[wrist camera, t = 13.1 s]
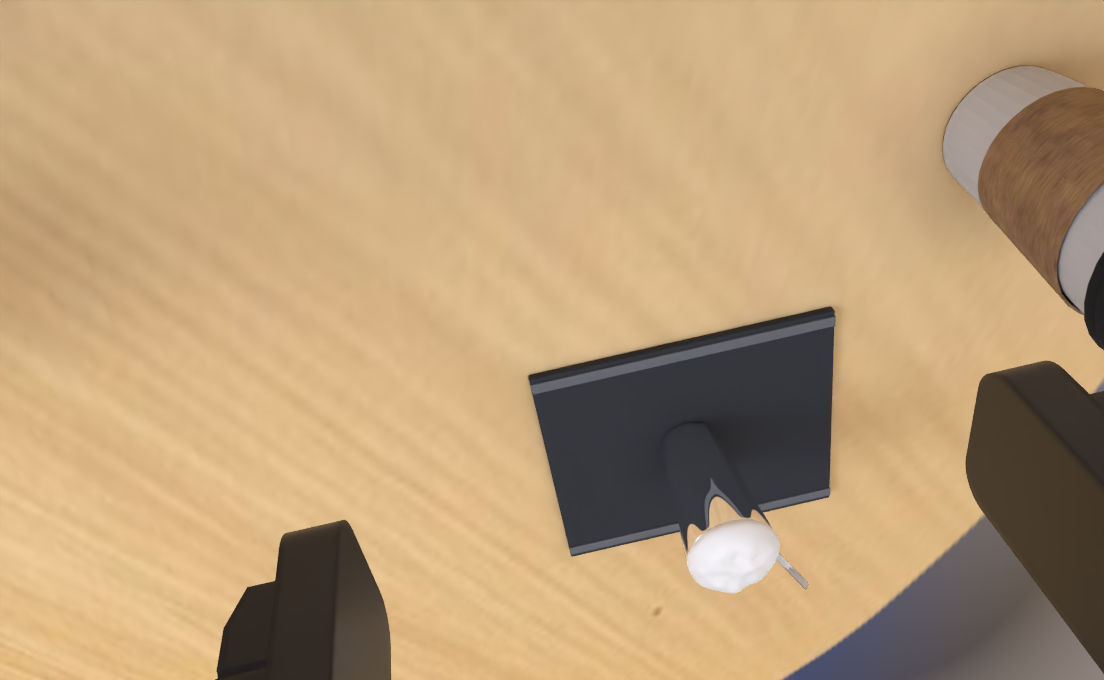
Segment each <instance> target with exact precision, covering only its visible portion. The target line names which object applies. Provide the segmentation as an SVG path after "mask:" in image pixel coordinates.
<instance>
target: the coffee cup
mask: <svg viewBox="0 0 1104 680" xmlns="http://www.w3.org/2000/svg"><path fill="white" fill-rule="evenodd" d="M943 156H944V161H945V164H946V166H947V169H948V170H949V172H950V173H951V174H952V176H953V177H954V178H955V179H956V180H957V182H958V183H959V184H960V185H961V186H962V187H963V188H964V189H965V190H966V191H967V192H968V193H969V194H970V195H971V196H972V197H973V198H974V199H975V201H976V202H977V203H978V204H979V205H980V206H981V207H982V208H983V209H984V210H985V212H986V213H987V214H988V215H989V217H990V218H991V219H992V220H993V221H994V222H995V224H996V225H997V226H998V227H999V228H1000V229H1001V230H1002V231H1003V233H1004V234H1005V235H1006V236H1007V237H1008V238H1009V239H1010V241H1011V242H1012V243H1013V244H1014V245H1015V246H1016V247H1017V248H1018V250H1019V251H1020V252H1021V253H1022V254H1023V255H1024V256H1025V258H1026V259H1027V260H1028V261H1029V262H1030V263H1031V264H1032V265H1033V267H1034V268H1035V269H1036V270H1037V271H1038V272H1039V273H1040V275H1041V276H1042V277H1043V278H1044V279H1045V280H1046V281H1047V282H1048V284H1049V285H1050V286H1051V287H1052V288H1053V289H1054V290H1055V292H1056V293H1057V294H1058V295H1059V296H1060V297H1061V298H1062V299H1063V301H1064V302H1065V303H1066V304H1067V305H1068V306H1069V307H1071V308H1072V309H1073V310H1075V311H1076V312H1078V313H1079V314H1082V315H1084V320H1085V323H1086V326H1087V329H1088V332H1089V335H1090V336H1091V337H1092V339H1093V340H1094V341H1095V342H1096V344H1097V345H1098V346H1099V347H1100V348H1102V349H1103V350H1104V91H1102V90H1099V89H1095V88H1091V87H1088V86H1086V85H1084V84H1081V83H1079V82H1076V81H1074V80H1071V79H1069V78H1067V77H1064V76H1062V75H1059V74H1057V73H1054V72H1052V71H1049V70H1047V69H1044V68H1040V67H1035V66H1018V67H1014V68H1010V69H1006V70H1003V71H1001V72H999V73H996V74H994V75H992V76H990V77H989V78H987V79H986V80H984V81H983V82H981V83H980V84H979V85H977V86H976V87H975V88H974V89H973V90H971V91H970V92H969V93H968V94H967V96H966V97H965V98H964V99H963V100H962V101H961V102H960V104H959V105H958V107H957V108H956V110H955V111H954V113H953V114H952V116H951V118H950V121H949V123H948V125H947V128H946V131H945V135H944V140H943Z"/></svg>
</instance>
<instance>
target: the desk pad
mask: <svg viewBox="0 0 1104 680" xmlns="http://www.w3.org/2000/svg"><path fill="white" fill-rule="evenodd" d="M834 313H835V311H834V310H833V308H832V307H829V308H825V309H821V310H816V311H812V312H807V313H803V314H799V315H794V316H790V317H785V318H781V319H777V320H772V321H768V322H763V323H759V324H755V325H750V326H746V327H741V328H737V329H733V330H728V331H724V332H719V333H715V334H711V335H706V336H702V337H697V338H693V339H689V340H684V341H680V342H675V343H671V344H666V345H662V346H658V347H653V348H649V349H644V350H640V351H636V352H631V353H627V354H622V355H618V356H614V357H609V358H605V359H600V360H596V361H592V362H587V363H583V364H578V365H574V366H570V367H565V368H561V369H556V370H552V371H548V372H543V373H539V374H534V375H530V376H529V381H530V386H531V390H532V394H533V398H534V402H535V406H536V410H537V415H538V419H539V423H540V427H541V431H542V435H543V440H544V444H545V448H546V452H547V456H548V461H549V465H550V469H551V473H552V477H553V481H554V486H555V490H556V494H557V498H558V502H559V507H560V511H561V515H562V519H563V523H564V527H565V532H566V536H567V540H568V544H569V549H570V553H571V556H577V555H581V554H585V553H589V552H594V551H598V550H602V549H607V548H611V547H615V546H620V545H624V544H628V543H633V542H637V541H641V540H646V539H650V538H654V537H659V536H663V535H667V534H672V533H676V532H680V529H679V524H678V519H677V515H676V511H675V507H674V503H673V499H672V495H671V491H670V488H669V484H668V480H667V476H666V472H665V468H664V464H663V460H662V454H661V445H660V443H661V442H662V441H663V439H664V438H665V436H666V435H667V434H668V432H669V431H670V430H672V429H674V428H676V427H678V426H680V425H682V424H684V423H686V422H689V423H705V424H706V425H707V426H709V427H710V428H711V429H713V430H714V431H715V432H716V433H717V435H718V437H719V438H720V440H721V442H722V444H723V445H724V447H725V449H726V451H727V452H728V454H729V456H730V457H731V459H732V461H733V463H734V464H735V466H736V468H737V470H738V471H739V473H740V475H741V477H742V478H743V480H744V482H745V484H746V485H747V487H748V489H749V491H750V493H751V494H752V496H753V498H754V499H755V501H756V503H757V504H758V506H759V507H760V509H761V511H762V512H767V511H771V510H775V509H780V508H784V507H788V506H793V505H797V504H801V503H806V502H810V501H814V500H819V499H823V498H827V497H829V495H830V487H829V479H830V446H831V413H832V379H833V346H834V326H835V316H834Z"/></svg>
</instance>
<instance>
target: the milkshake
mask: <svg viewBox="0 0 1104 680" xmlns="http://www.w3.org/2000/svg"><path fill="white" fill-rule="evenodd" d="M660 445H661V454H662V460H663V464H664V468H665V472H666V476H667V480H668V484H669V488H670V491H671V495H672V499H673V503H674V507H675V511H676V515H677V519H678V524H679V529H680V534H681V539H682V544H683V548H684V553H685V557H686V562H687V566H688V570H689V572H690V574H691V575H692V577H693V578H694V579H695V581H696V582H697V583H699V584H700V585H701V586H703V587H705V588H708V589H712V590H717V591H722V592H726V593H737V592H739V591H741V590H743V589H744V588H746V587H747V586H749V585H751V584H754V583H757V582H759V581H760V580H761V579H762V578H763V577H764V576H765V575H766V574H767V573H768V572H769V570H770V569H771V568H772V566H773V565H774V563H775V562H776V560H777V561H778V562H779V563H780V564H781V565H782V566H783V567H784V568H785V569H786V570H787V571H788V572H789V573H790V574H791V576H792V577H793V578H794V579H795V580H796V581H797V582H798V583H799V584H800V585H801V586H802V587H803V588H804V589H807V587H808V585H809V583H808V582H807V581H806V580H805V579H804V578H803V577H802V576H801V575H800V574H799V573H798V572H797V571H796V570H795V569H794V568H793V567H792V566H791V565H790V564H789V563H788V561H787V560H786V559H785V558H784V557H783V556H782V555H781V554H780V553H779V548H780V543H779V539H778V537H777V535H776V533H775V532H774V530H773V528H772V527H771V525H770V524H769V522H768V520H767V519H766V517H765V515H764V514H763V512H762V511H761V509H760V507H759V506H758V504H757V503H756V501H755V499H754V498H753V496H752V494H751V493H750V491H749V489H748V487H747V485H746V484H745V482H744V480H743V478H742V477H741V475H740V473H739V471H738V470H737V468H736V466H735V464H734V463H733V461H732V459H731V457H730V456H729V454H728V452H727V451H726V449H725V447H724V445H723V444H722V442H721V440H720V438H719V437H718V435H717V433H716V432H715V431H714V430H713V429H711V428H710V427H709V426H707V425H706V424H705V423H689V422H686V423H684V424H682V425H680V426H678V427H676V428H674V429H672V430H670V431H669V432H668V434H667V435H666V436H665V438H664V439H663V441H662V442H661V443H660Z"/></svg>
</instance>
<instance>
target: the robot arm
mask: <svg viewBox="0 0 1104 680" xmlns="http://www.w3.org/2000/svg"><path fill="white" fill-rule="evenodd" d="M966 474H967V478H968V482H969V486H970V489H971V491H972V494H973V496H974V498H975V500H976V502H977V504H978V505H979V507H980V508H981V510H982V511H983V513H984V514H985V515H986V517H987V518H988V519H989V521H990V522H991V523H992V524H993V526H994V527H995V529H996V530H997V531H998V533H999V534H1000V535H1001V536H1002V538H1003V539H1004V541H1005V542H1006V543H1007V545H1008V546H1009V547H1010V549H1011V550H1012V551H1013V553H1014V554H1015V555H1016V557H1017V558H1018V559H1019V561H1020V562H1021V563H1022V565H1023V566H1024V567H1025V569H1026V570H1027V571H1028V573H1029V574H1030V575H1031V577H1032V578H1033V579H1034V581H1035V582H1036V583H1037V585H1038V586H1039V587H1040V589H1041V590H1042V591H1043V593H1044V594H1045V596H1046V597H1047V598H1048V600H1049V601H1050V602H1051V604H1052V605H1053V606H1054V607H1055V609H1056V610H1057V612H1058V613H1059V614H1060V616H1061V617H1062V618H1063V619H1064V621H1065V622H1066V624H1067V625H1068V626H1069V628H1070V629H1071V630H1072V632H1073V633H1074V634H1075V636H1076V637H1077V638H1078V639H1079V641H1080V642H1081V644H1082V645H1083V646H1084V648H1085V649H1086V650H1087V652H1088V653H1089V654H1090V656H1091V657H1092V658H1093V660H1094V661H1095V662H1096V664H1097V665H1098V666H1099V668H1100V669H1101V670H1102V672H1103V673H1104V391H1103V392H1098V393H1094V394H1089V393H1088V392H1087V391H1086V390H1085V389H1084V388H1083V387H1081V386H1080V385H1079V384H1078V383H1077V382H1076V381H1075V380H1074V379H1073V378H1072V377H1071V376H1070V375H1069V374H1068V373H1067V372H1066V371H1065V370H1064V369H1063V368H1062V367H1060V366H1059V365H1058V364H1056V363H1054V362H1051V361H1042V362H1037V363H1033V364H1029V365H1024V366H1020V367H1016V368H1011V369H1007V370H1003V371H998V372H994V373H990V374H986V375H985V376H984V377H983V378H982V379H981V381H980V383H979V387H978V392H977V398H976V404H975V409H974V415H973V421H972V427H971V432H970V438H969V444H968V449H967V455H966ZM217 673H218V679H215V680H391V643H390V631H389V624H388V618H387V613H386V609H385V605H384V601H383V598H382V596H381V593H380V591H379V588H378V586H377V584H376V582H375V579H374V577H373V575H372V573H371V570H370V568H369V566H368V564H367V561H366V559H365V557H364V555H363V552H362V550H361V548H360V546H359V543H358V541H357V539H356V537H355V534H354V532H353V530H352V528H351V526H350V524H349V523H348V522H347V521H346V520H342V521H337V522H333V523H329V524H324V525H320V526H316V527H311V528H307V529H303V530H298V531H294V532H289V533H285V534H284V535H283V537H282V538H281V542H280V547H279V554H278V563H277V571H276V580H275V581H273V582H269V583H265V584H260V585H256V586H252V587H247V589H246V591H245V592H244V594H243V596H242V598H241V599H240V601H239V603H238V604H237V606H236V608H235V610H234V611H233V613H232V615H231V617H230V618H229V620H228V622H227V624H226V625H225V627H224V630H223V636H222V642H221V648H220V654H219V660H218V666H217Z"/></svg>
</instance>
